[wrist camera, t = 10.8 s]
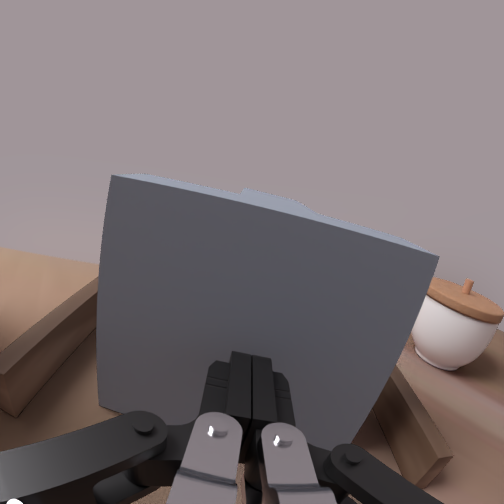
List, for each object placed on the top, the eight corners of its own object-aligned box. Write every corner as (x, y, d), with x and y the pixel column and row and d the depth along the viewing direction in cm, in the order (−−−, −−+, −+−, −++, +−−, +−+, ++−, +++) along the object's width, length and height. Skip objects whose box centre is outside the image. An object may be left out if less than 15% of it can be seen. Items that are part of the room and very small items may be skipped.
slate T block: (99, 405, 14) (111, 174, 11) (155, 315, 26) (180, 173, 23) (344, 452, 15) (439, 256, 12) (313, 350, 26) (357, 217, 23)
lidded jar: (424, 331, 36) (450, 265, 34) (484, 369, 27) (517, 297, 25) (379, 340, 31) (410, 259, 29) (452, 393, 22) (498, 301, 20)
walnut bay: (0, 408, 10) (-14, 364, 10) (115, 291, 27) (118, 262, 27) (424, 488, 11) (454, 455, 11) (352, 345, 29) (363, 318, 28)
